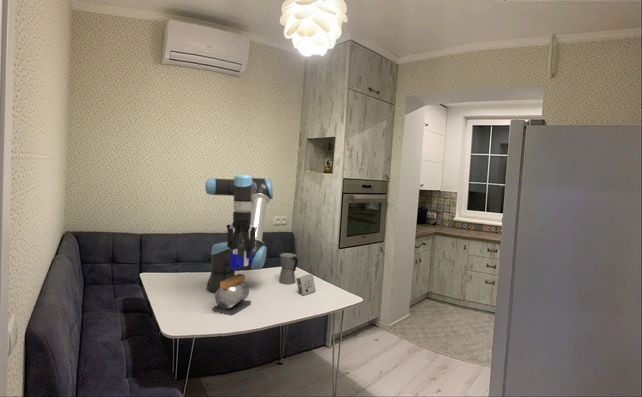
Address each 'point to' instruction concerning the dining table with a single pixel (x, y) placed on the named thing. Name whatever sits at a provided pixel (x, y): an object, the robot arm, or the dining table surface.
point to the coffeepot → (288, 267)
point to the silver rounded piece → (232, 295)
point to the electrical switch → (306, 284)
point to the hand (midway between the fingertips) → (240, 264)
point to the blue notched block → (238, 261)
